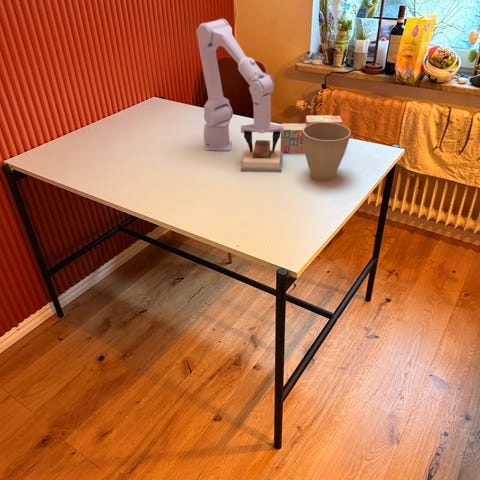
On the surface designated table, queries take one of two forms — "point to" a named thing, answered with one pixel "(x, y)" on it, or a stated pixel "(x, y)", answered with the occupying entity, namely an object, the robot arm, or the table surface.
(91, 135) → the table surface
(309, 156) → the plant pot
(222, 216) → the table surface
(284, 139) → the stack of blocks
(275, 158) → the puzzle board
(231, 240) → the table surface
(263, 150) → the walnut block
